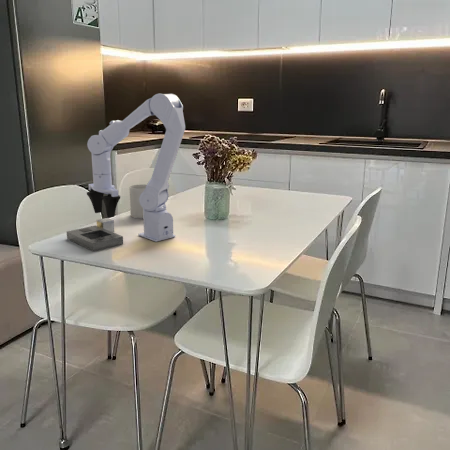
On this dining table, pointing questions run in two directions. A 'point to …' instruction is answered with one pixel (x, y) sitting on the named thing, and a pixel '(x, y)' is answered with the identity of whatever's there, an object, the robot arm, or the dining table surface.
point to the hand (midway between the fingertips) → (104, 214)
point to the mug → (136, 201)
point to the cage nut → (106, 224)
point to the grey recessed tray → (92, 232)
